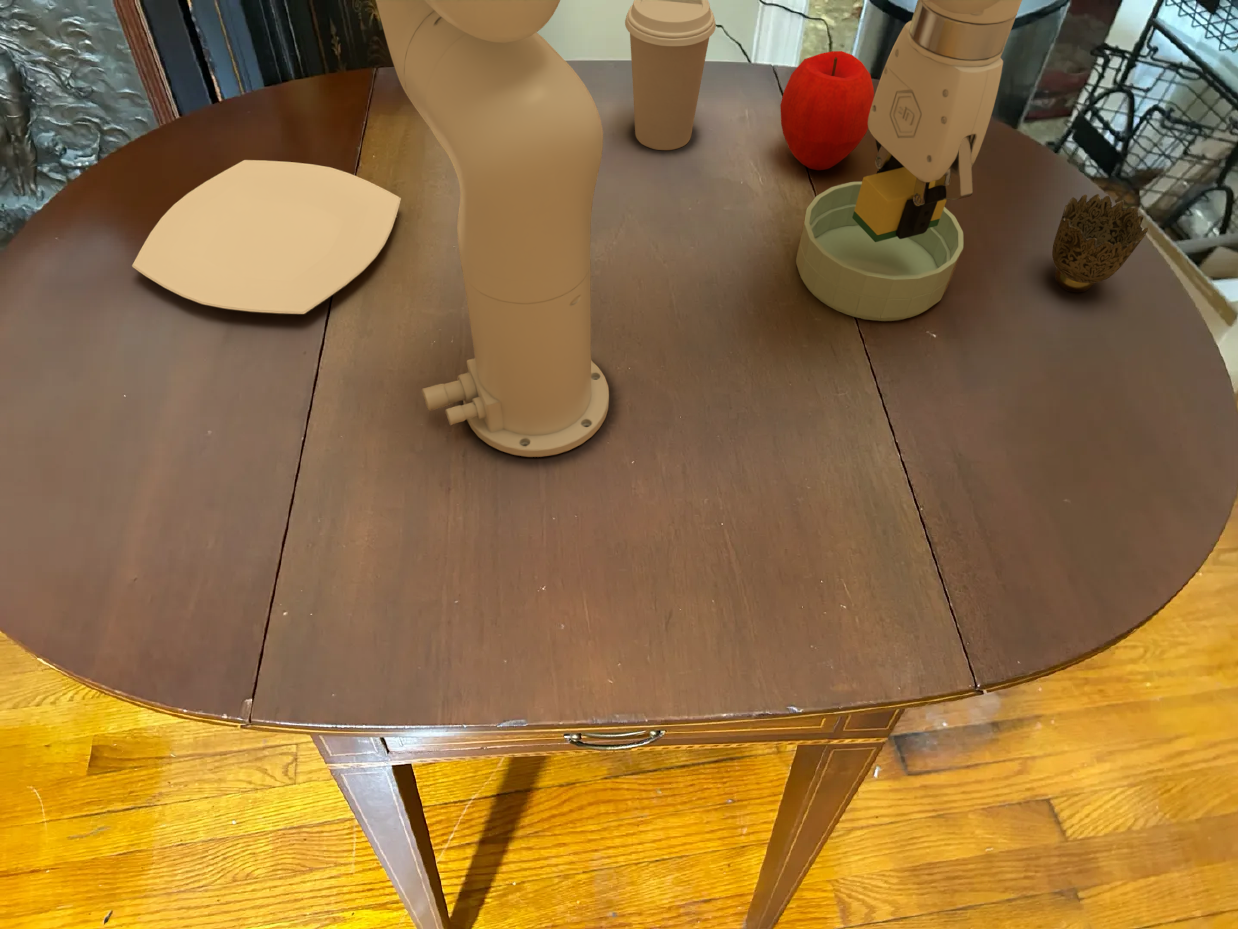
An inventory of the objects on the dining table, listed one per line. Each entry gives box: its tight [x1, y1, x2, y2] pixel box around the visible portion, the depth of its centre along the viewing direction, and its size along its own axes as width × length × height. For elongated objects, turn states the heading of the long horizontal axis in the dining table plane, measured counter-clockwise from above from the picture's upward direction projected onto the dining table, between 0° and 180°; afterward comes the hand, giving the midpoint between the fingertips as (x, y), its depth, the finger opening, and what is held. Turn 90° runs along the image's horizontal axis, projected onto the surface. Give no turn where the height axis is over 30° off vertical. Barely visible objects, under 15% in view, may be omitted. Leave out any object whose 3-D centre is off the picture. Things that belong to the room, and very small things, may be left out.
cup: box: [1051, 193, 1149, 293], centre depth 88 cm, size 8×7×8 cm
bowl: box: [795, 180, 964, 322], centre depth 89 cm, size 15×15×6 cm
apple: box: [779, 50, 875, 171], centre depth 98 cm, size 10×10×12 cm
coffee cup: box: [624, 0, 717, 151], centre depth 100 cm, size 10×10×15 cm
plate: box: [131, 159, 402, 316], centre depth 91 cm, size 23×23×2 cm
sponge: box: [852, 167, 947, 242], centre depth 84 cm, size 7×4×4 cm, turn 113°
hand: (896, 217), depth 86 cm, fingers closed on sponge, 4 cm apart
